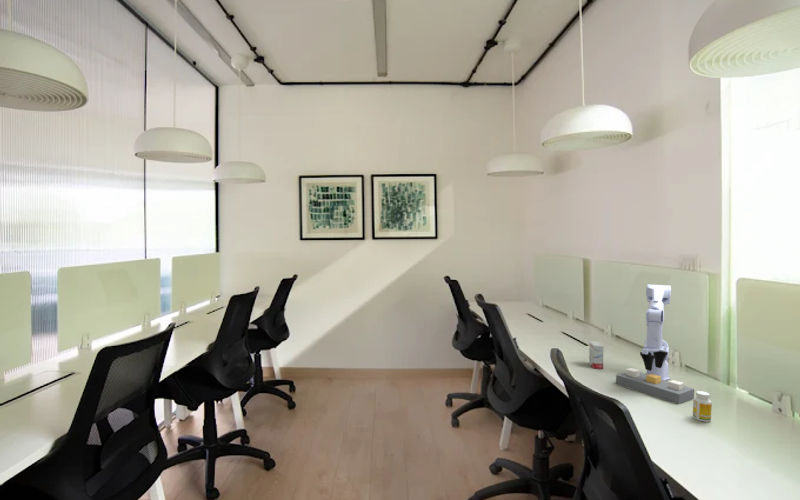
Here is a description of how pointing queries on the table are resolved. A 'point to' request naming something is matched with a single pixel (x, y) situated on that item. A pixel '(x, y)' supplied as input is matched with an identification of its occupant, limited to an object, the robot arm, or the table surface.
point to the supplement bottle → (702, 406)
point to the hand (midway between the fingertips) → (653, 368)
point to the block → (632, 372)
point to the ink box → (596, 355)
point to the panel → (655, 388)
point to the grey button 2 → (676, 385)
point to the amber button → (653, 378)
